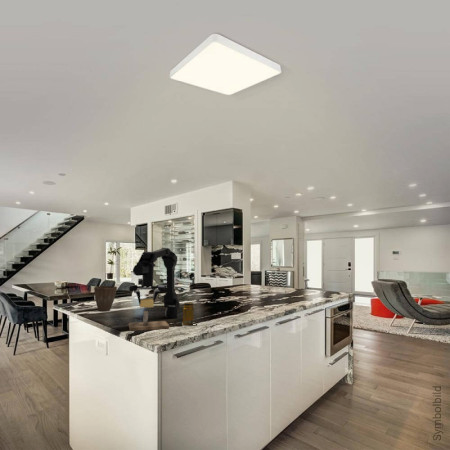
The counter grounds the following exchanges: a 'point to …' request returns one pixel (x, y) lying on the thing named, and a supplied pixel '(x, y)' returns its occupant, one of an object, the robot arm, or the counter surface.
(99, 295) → the plant pot
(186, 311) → the condiment
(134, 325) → the board
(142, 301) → the open wall cube
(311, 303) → the counter surface
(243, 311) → the counter surface
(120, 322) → the counter surface
